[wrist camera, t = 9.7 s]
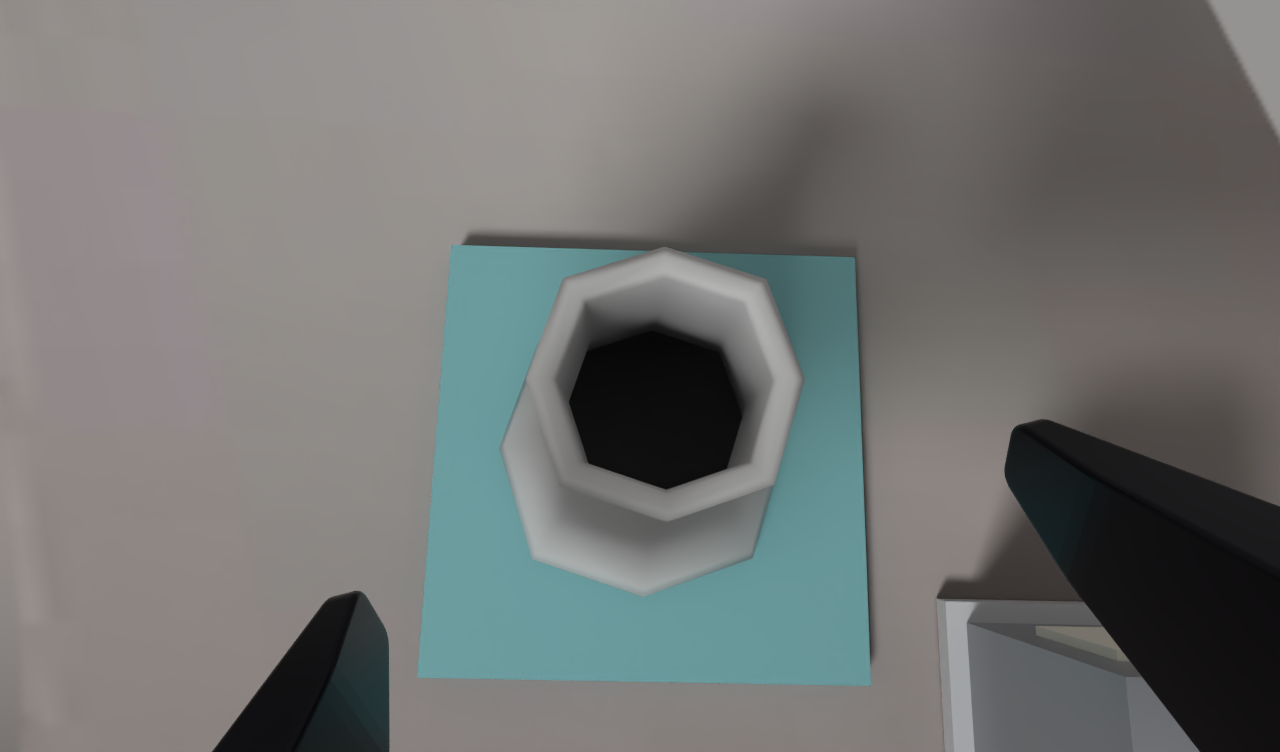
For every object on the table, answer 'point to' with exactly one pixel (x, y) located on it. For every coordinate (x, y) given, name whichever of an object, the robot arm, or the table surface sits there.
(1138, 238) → the table surface
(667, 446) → the flask
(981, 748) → the box
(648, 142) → the table surface
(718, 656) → the mat
